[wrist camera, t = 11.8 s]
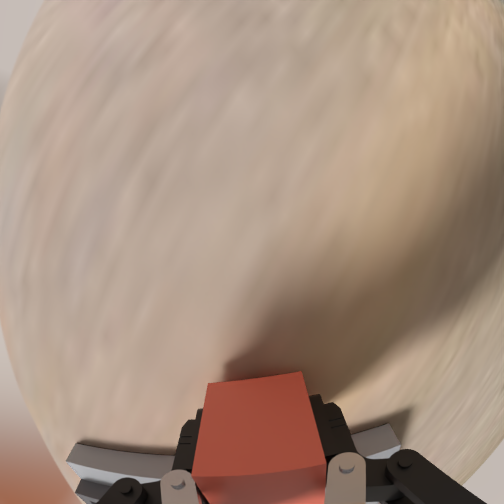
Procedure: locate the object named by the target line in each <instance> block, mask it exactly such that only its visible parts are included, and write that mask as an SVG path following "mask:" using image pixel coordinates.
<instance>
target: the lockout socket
mask: <svg viewBox="0 0 504 504" xmlns="http://www.w3.org/2000/svg"><path fill="white" fill-rule="evenodd" d="M110 487H111V486H107V485H103V484H99V483H95V482H91V481H87V480H83V479H81V481H80V483H79V485H78V487H77V489H76V491H75V493H76V494H77V495H78V496H79V497H80V498H81V499H82V500H83V501H84V502H85V503H87V504H96V503H97V502H98V501H99V500H100V499H101V497H102V496H103V495H104V494H105V493H106V492H107V491H108V490H109V488H110Z"/></svg>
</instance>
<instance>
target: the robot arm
mask: <svg viewBox="0 0 504 504" xmlns="http://www.w3.org/2000/svg"><path fill="white" fill-rule="evenodd" d="M309 400H310V404H311V407H312V411H313V415H314V418H315V422H316V426H317V429H318V433H319V437H320V441H321V444H322V448H323V452H324V456H325V459H326V463H327V464H326V492H325V500H324V504H366V502H380V503H381V504H487V503H485V502H484V501H482V500H481V499H479V498H478V497H477V496H475V495H474V494H472V493H471V492H469V491H468V490H467V489H465V488H464V487H463V486H461V485H460V484H458V483H457V482H456V481H454V480H453V479H452V478H450V477H449V476H448V475H446V474H445V473H444V472H442V471H441V470H440V469H438V468H437V467H436V466H435V465H433V464H432V463H431V462H429V461H428V460H427V459H426V458H424V457H423V456H422V455H420V454H419V453H418V452H416V451H414V450H411V449H403V450H399V451H397V452H395V453H394V454H392V455H391V456H390V458H385V459H369V458H366V457H363V456H362V455H360V454H359V453H358V451H357V450H356V447H355V445H354V442H353V439H352V437H351V434H350V432H349V429H348V426H347V424H346V421H345V419H344V416H343V414H342V411H341V409H340V408H339V407H338V406H337V405H336V404H335V403H333V402H331V403H327V404H323V402H322V399H321V396H320V394H317V395H312V396H309ZM202 413H203V409H198V410H197V415H196V419H195V420H188V421H187V422H186V423H185V424H184V426H183V427H182V430H181V434H180V438H179V442H178V446H177V450H176V454H175V458H174V462H173V466H172V470H171V471H170V472H168V473H166V474H165V475H164V476H163V477H162V479H161V480H159V481H155V482H149V483H142V484H140V482H139V481H138V480H136V479H134V478H130V477H125V478H121V479H119V480H117V481H116V482H115V483H114V484H113V485H112V486H111V487H110V488H109V490H108V491H107V492H106V493H105V494H104V495H103V496H102V497H101V499H100V500H99V501H98V502H97V503H96V504H210V503H209V502H208V500H207V499H206V498H205V496H204V495H203V493H202V492H201V490H200V489H199V487H198V486H197V484H196V483H195V481H194V480H193V478H192V477H191V474H192V468H193V463H194V457H195V451H196V446H197V440H198V435H199V429H200V424H201V418H202Z"/></svg>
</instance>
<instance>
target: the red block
mask: <svg viewBox="0 0 504 504" xmlns="http://www.w3.org/2000/svg"><path fill="white" fill-rule="evenodd" d="M326 464H327V463H326V459H325V456H324V452H323V448H322V444H321V441H320V437H319V433H318V429H317V426H316V422H315V418H314V415H313V411H312V407H311V404H310V400H309V396H308V393H307V389H306V386H305V382H304V378H303V375H302V371H299V372H293V373H287V374H281V375H275V376H268V377H261V378H254V379H246V380H237V381H228V382H218V383H208V386H207V391H206V397H205V402H204V407H203V413H202V418H201V424H200V429H199V435H198V440H197V446H196V451H195V457H194V463H193V468H192V474H191V477H192V478H193V480H194V481H195V483H196V484H197V486H198V487H199V489H200V490H201V492H202V493H203V495H204V496H205V498H206V499H207V500H208V502H209V503H210V504H324V500H325V487H326Z"/></svg>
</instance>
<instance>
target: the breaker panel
mask: <svg viewBox="0 0 504 504" xmlns="http://www.w3.org/2000/svg"><path fill="white" fill-rule="evenodd" d="M351 437H352V439H353V442H354V445H355V447H356V450H357V451H358V453H359V454H360V455H362V456H363V457H366V458H369V459H385V458H390V456H391V455H392V454H394V453H395V452H397V451H399V449H400V446H401V444H400V442H399V440H398V438H397V437H396V435H395V433H394V431H393V429H392V428H391V426H390V424H389V423H388V424H385V425H382V426H379V427H376V428H373V429H370V430H366V431H363V432H360V433H356V434H353V435H351ZM174 458H175V456H170V455H153V454H141V453H131V452H123V451H115V450H109V449H103V448H97V447H91V446H86V445H81V444H77V443H76V444H75V446H74V447H73V449H72V451H71V453H70V454H69V456H68V458H67V460H66V462H67V463H68V465H69V466H70V467H71V468H72V469H73V470H74V471H75V473H76V474H77V475H78V476H79V477H80V478H81V479H83V480H87V481H91V482H95V483H99V484H103V485H107V486H112V485H113V484H114V483H115V482H116V481H117V480H119V479H121V478H125V477H130V478H134V479H136V480H138V481H139V482H140V484H142V483H149V482H155V481H159V480H161V479H162V477H163V476H164V475H165V474H166V473H168V472H170V471H171V470H172V466H173V462H174ZM325 492H326V487H325ZM366 504H378V502H366Z"/></svg>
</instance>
